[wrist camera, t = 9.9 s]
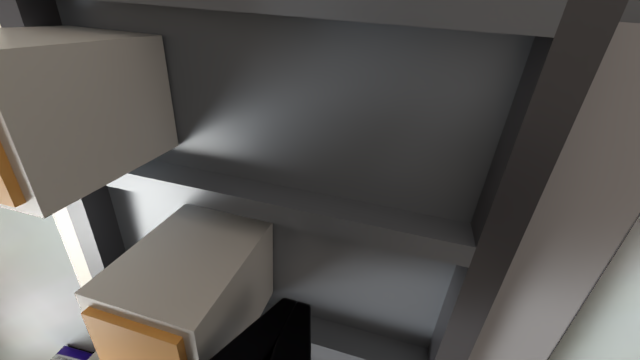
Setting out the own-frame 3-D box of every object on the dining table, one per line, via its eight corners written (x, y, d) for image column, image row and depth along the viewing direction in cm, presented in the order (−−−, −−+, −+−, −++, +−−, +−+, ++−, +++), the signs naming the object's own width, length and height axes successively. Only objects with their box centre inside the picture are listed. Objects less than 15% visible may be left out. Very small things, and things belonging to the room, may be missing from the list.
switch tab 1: (161, 35, 8) (-41, 52, 5) (178, 145, 10) (33, 224, 6) (67, 25, 9) (-175, 34, 5) (95, 130, 10) (-80, 193, 7)
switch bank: (707, 0, 6) (848, -7, 4) (474, 426, 14) (483, 500, 12) (11, -39, 10) (-98, -52, 8) (123, 312, 18) (82, 354, 16)
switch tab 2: (272, 222, 10) (187, 340, 6) (272, 292, 11) (203, 421, 8) (187, 202, 11) (65, 299, 7) (197, 271, 12) (100, 382, 8)
